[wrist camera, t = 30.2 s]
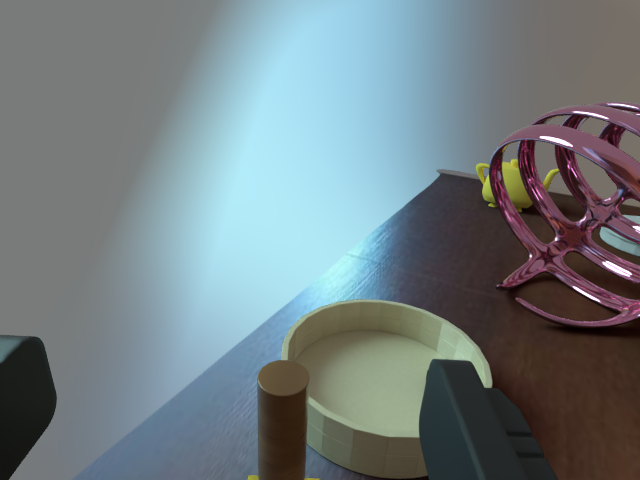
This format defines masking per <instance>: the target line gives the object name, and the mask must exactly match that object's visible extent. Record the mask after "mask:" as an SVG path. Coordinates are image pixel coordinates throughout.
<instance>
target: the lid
mask: <svg viewBox="0 0 640 480" xmlns="http://www.w3.org/2000/svg"><path fill="white" fill-rule="evenodd" d="M623 216H624V217H626V218H628V219H629V220H631V221H633V222H635V223H638V224H640V217H639V216H629V215H623ZM600 236H601V238H602V239H603V240H604V241H605V242H606V243H608V244H609V245H611V246H613V247H615V248H617V249H619V250H622V251H624V252H627V253H630V254H632V255H636V256H639V257H640V244H637V243H635V242H632V241H630V240H628V239H626V238H624V237H622V236H620V235H618V234H617V233H615V232H613V231H612V230H610V229H608V228H606V227H602V228H601V231H600Z"/></svg>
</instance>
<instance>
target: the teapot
mask: <svg viewBox="0 0 640 480" xmlns="http://www.w3.org/2000/svg"><path fill="white" fill-rule="evenodd" d="M483 168H489V165H488V164H484V163H479V164H477V166H476V171H477V174H478V176H479V178H480V180H481V182H482V183H483V185H484V186H483V190H482V194H483V197H484V200H486V201H488V202H490V204H489V205H488V206H490V207H497V205H496V202H495V200H494V197H493V194H492V191H491V187H490V181H489V175H488V177H487V179H486V181H485V178H484V175H483ZM502 171H503V178H504V182H505V186H506V189H507V192H508V194H509V197H510V199H511V201H512V203H513V205H514V207H515V209H516V211H517V212H522V209H521V208H528V207H530V206H531V205H532V204H533V203H532V201H531V199H530V198H529V196H528V194H527V192H526V190H525V187H524V185H523V182H522V179H521V176H520V172H519V167H518V159H512V160H511V163H508V162H502ZM558 172H560V171H559V169H554V170H551V171H550V172H549V173H548V175H547V177H546V179H545V180H544V182H543V183H542V184H543V186H544V188H545V190H546V191H547V190H548V188H549V185H550V184H551V181H552V179H553V177H554V176H555V175H556V174H557V173H558Z"/></svg>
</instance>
